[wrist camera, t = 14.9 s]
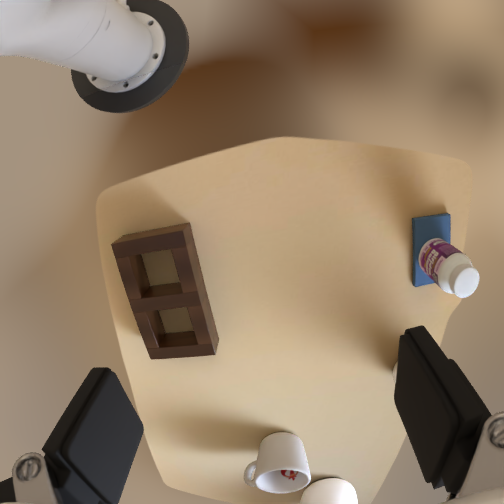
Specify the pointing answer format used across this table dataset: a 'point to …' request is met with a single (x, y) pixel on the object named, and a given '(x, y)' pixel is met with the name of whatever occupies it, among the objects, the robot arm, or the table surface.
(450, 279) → the pill bottle
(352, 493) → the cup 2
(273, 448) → the cup
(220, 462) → the table surface
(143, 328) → the rack
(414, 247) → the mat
